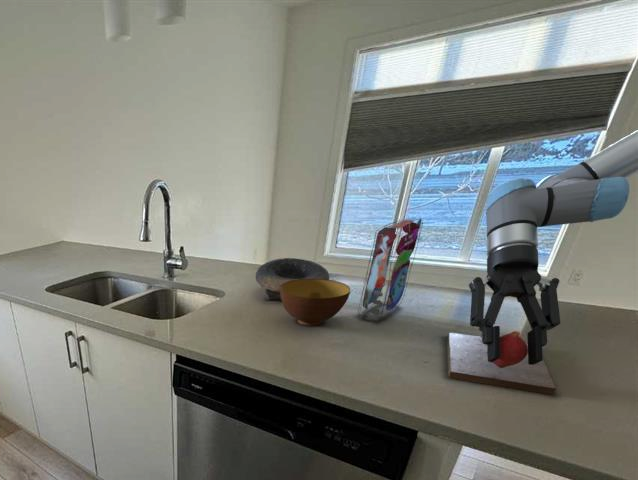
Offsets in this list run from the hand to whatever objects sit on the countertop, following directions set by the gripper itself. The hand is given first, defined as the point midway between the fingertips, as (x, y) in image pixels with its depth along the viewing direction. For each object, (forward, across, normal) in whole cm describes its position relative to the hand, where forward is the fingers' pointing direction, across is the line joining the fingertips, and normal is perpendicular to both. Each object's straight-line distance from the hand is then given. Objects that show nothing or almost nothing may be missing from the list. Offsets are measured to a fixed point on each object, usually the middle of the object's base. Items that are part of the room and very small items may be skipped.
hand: (514, 360), depth 77 cm
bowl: (-17, +34, -26) cm, 46 cm away
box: (-27, +13, -35) cm, 46 cm away
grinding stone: (-35, +40, -44) cm, 68 cm away
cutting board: (-4, -2, -12) cm, 13 cm away
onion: (0, 0, -5) cm, 5 cm away
